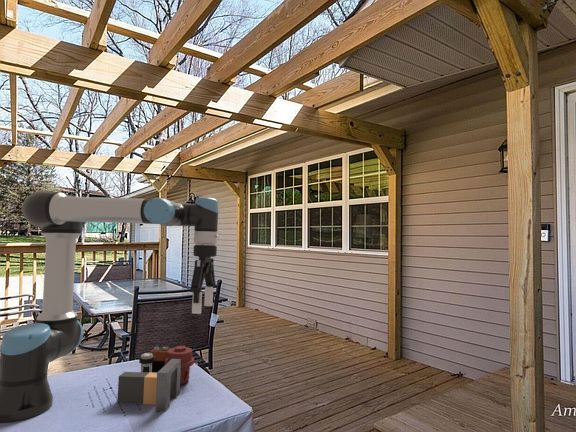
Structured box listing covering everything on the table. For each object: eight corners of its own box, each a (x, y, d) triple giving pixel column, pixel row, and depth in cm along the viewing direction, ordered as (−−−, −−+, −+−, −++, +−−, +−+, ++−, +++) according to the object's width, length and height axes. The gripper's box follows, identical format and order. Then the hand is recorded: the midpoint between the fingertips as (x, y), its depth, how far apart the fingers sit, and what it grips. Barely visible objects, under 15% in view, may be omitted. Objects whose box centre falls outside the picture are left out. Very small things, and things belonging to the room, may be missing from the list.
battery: (166, 377, 135) (168, 349, 135) (148, 376, 135) (149, 348, 136) (171, 372, 139) (172, 345, 140) (153, 372, 139) (154, 345, 140)
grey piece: (155, 411, 108) (157, 372, 109) (170, 393, 121) (172, 358, 122) (165, 411, 108) (167, 373, 109) (179, 393, 121) (181, 359, 122)
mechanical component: (198, 379, 133) (185, 390, 123) (173, 376, 135) (158, 387, 125) (199, 344, 134) (186, 352, 124) (174, 342, 136) (159, 350, 126)
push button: (159, 381, 131) (160, 352, 132) (154, 386, 126) (156, 356, 126) (140, 380, 131) (141, 352, 131) (135, 386, 125) (136, 356, 126)
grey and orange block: (117, 403, 113) (118, 376, 113) (123, 397, 117) (124, 371, 117) (156, 404, 112) (157, 377, 113) (160, 398, 116) (162, 372, 117)
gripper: (206, 245, 110) (203, 317, 108) (225, 244, 134) (222, 303, 133) (181, 244, 110) (178, 316, 108) (204, 244, 135) (202, 302, 133)
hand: (202, 309), depth 121 cm, fingers open, 13 cm apart
